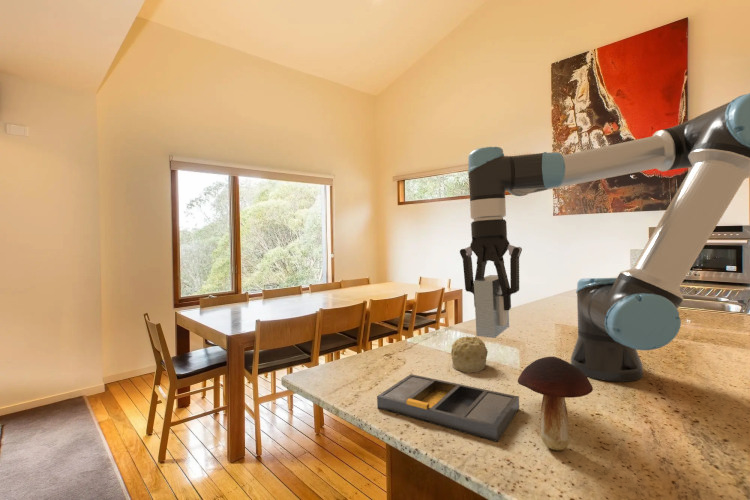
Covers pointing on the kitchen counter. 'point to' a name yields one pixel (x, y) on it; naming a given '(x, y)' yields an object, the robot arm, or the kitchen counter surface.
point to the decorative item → (469, 354)
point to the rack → (451, 405)
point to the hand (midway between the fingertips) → (493, 323)
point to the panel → (488, 307)
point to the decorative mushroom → (555, 395)
